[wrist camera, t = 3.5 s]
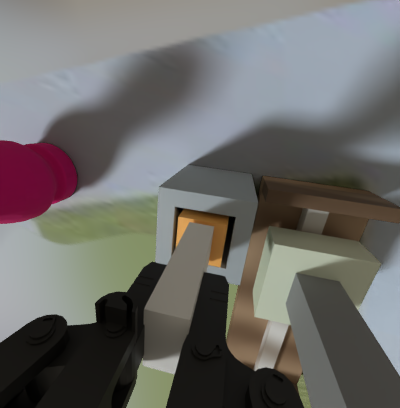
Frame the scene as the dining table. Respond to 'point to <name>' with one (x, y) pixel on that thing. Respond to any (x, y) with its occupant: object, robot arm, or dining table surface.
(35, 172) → the pepper mill
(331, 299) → the carriage
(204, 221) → the button
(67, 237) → the dining table surface
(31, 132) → the dining table surface
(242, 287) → the rail board
